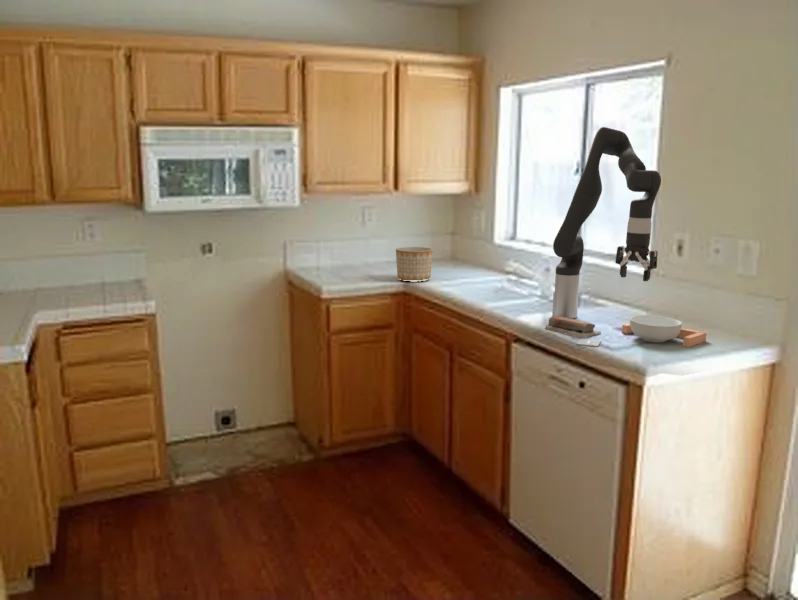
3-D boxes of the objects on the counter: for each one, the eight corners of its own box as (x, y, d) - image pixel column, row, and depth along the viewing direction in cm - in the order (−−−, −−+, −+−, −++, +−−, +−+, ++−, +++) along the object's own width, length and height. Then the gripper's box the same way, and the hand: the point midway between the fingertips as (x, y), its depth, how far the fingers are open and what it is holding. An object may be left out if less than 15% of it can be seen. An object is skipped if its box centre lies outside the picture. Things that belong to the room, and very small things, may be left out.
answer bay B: (688, 347, 226) (689, 338, 225) (622, 332, 245) (622, 324, 244) (705, 341, 233) (706, 332, 233) (640, 328, 252) (640, 319, 252)
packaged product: (544, 317, 250) (561, 313, 256) (544, 329, 251) (561, 326, 257) (584, 326, 236) (602, 322, 242) (584, 339, 237) (601, 335, 243)
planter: (392, 277, 364) (392, 247, 360) (427, 276, 367) (428, 246, 364) (399, 283, 345) (399, 251, 342) (436, 282, 348) (436, 250, 345)
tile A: (576, 344, 228) (576, 343, 228) (580, 339, 235) (580, 338, 235) (597, 347, 226) (597, 345, 225) (600, 342, 232) (601, 340, 232)
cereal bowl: (662, 348, 224) (663, 328, 222) (619, 338, 237) (620, 319, 235) (690, 341, 234) (691, 321, 232) (647, 331, 247) (648, 312, 245)
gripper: (664, 232, 222) (659, 281, 226) (626, 228, 233) (622, 274, 237) (651, 234, 218) (646, 283, 221) (613, 229, 229) (609, 276, 232)
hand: (634, 279), depth 229 cm, fingers open, 8 cm apart
